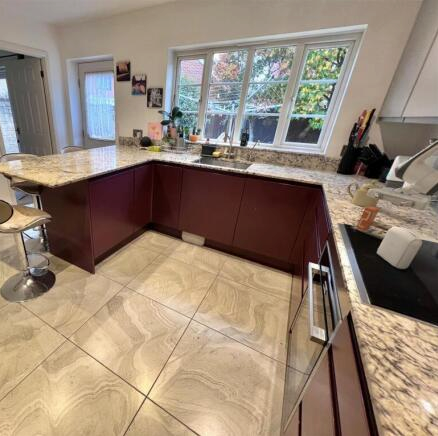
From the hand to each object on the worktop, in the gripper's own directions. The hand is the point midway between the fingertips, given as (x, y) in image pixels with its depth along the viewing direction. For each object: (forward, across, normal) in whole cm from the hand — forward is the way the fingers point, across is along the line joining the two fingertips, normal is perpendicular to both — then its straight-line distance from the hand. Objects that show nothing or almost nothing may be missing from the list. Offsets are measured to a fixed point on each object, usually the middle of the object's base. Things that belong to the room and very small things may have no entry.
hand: (388, 200), depth 103 cm
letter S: (+12, 0, +12) cm, 17 cm away
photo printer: (+31, +17, +13) cm, 38 cm away
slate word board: (+12, +6, +13) cm, 19 cm away
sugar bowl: (-30, -20, +13) cm, 38 cm away
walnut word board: (0, +3, +13) cm, 13 cm away
